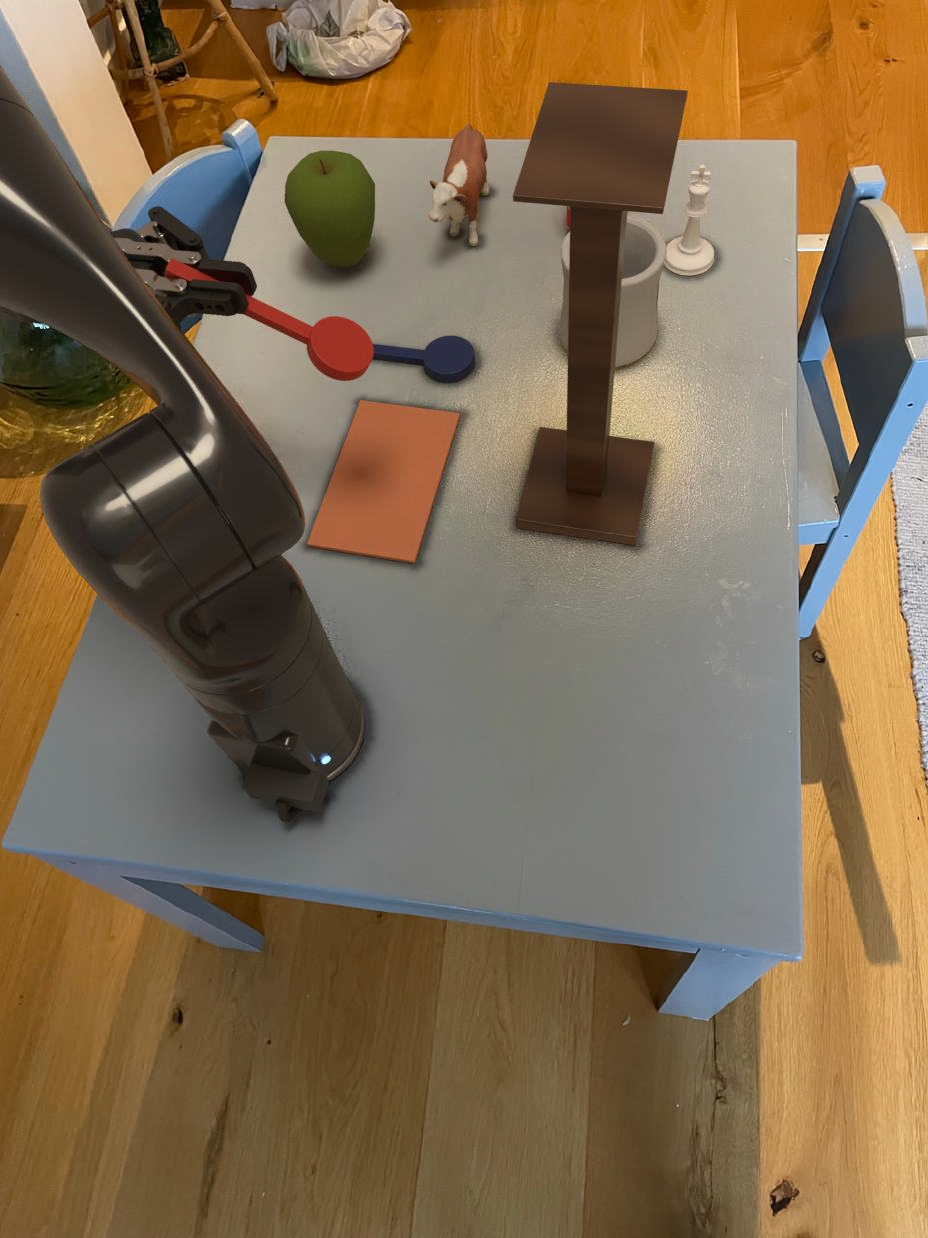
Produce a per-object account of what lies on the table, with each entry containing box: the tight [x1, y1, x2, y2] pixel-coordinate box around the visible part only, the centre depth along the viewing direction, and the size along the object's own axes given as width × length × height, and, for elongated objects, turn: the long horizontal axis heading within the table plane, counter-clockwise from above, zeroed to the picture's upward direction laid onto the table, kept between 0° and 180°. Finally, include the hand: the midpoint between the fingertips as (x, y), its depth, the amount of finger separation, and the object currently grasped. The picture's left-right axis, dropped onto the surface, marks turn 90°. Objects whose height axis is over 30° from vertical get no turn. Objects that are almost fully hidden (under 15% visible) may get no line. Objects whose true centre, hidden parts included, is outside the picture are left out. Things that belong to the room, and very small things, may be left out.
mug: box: [558, 214, 667, 368], centre depth 84 cm, size 12×9×10 cm
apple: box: [284, 150, 376, 269], centre depth 90 cm, size 9×8×12 cm
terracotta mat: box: [306, 399, 461, 564], centre depth 81 cm, size 16×10×1 cm, turn 166°
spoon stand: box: [512, 81, 689, 546], centre depth 65 cm, size 10×10×32 cm
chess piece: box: [664, 164, 715, 277], centre depth 87 cm, size 5×5×10 cm
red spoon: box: [164, 258, 374, 382], centre depth 67 cm, size 5×15×1 cm, turn 77°
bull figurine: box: [428, 124, 490, 247], centre depth 93 cm, size 4×13×8 cm, turn 166°
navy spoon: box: [372, 335, 476, 384], centre depth 88 cm, size 5×15×1 cm, turn 76°
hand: (247, 289), depth 65 cm, fingers closed on red spoon, 1 cm apart
